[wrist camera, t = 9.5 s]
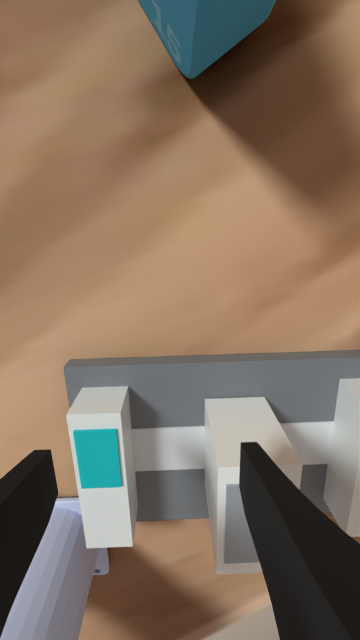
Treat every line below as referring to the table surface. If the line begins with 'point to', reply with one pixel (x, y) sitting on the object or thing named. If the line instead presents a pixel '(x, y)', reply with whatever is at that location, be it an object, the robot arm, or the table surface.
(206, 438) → the block
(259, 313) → the table surface
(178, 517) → the rail board
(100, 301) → the table surface
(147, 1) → the data package
